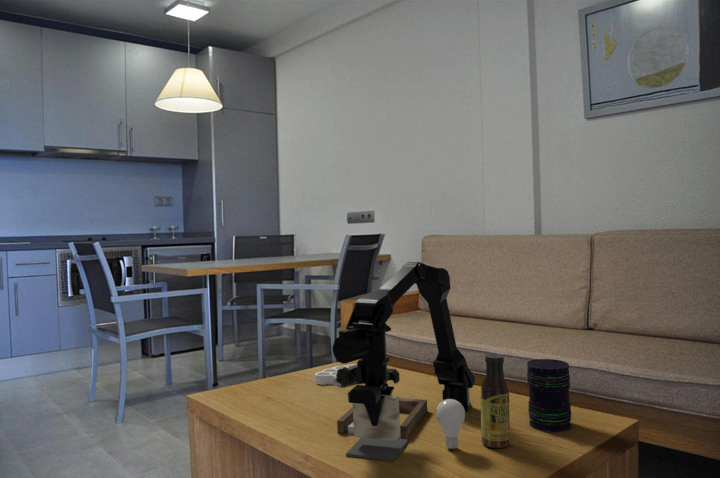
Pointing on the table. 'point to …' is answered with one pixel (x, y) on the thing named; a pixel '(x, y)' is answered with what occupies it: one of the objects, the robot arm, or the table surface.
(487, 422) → the sauce bottle
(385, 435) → the pale wooden block
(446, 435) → the lightbulb
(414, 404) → the frame
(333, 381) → the knuckle duster
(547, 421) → the dark blue cylinder
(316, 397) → the table surface
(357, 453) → the mat
